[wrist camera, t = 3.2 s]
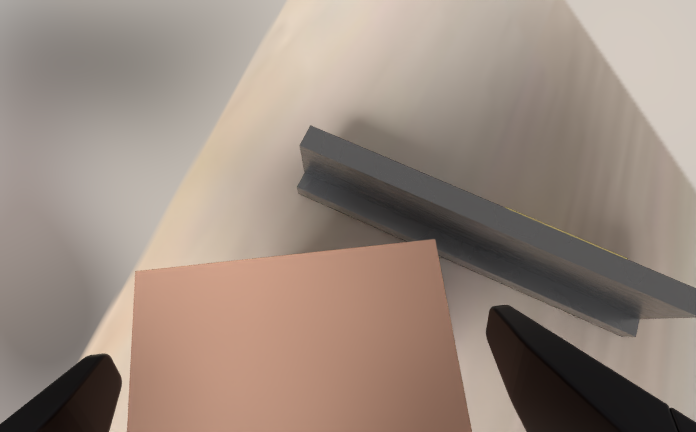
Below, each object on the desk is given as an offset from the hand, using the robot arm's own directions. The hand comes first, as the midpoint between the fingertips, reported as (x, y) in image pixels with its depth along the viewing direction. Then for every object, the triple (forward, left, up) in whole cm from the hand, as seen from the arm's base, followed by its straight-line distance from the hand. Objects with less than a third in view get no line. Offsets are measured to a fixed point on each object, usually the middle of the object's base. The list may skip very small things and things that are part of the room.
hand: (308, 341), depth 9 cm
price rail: (+3, -7, -7) cm, 11 cm away
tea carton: (-1, 0, -7) cm, 8 cm away
